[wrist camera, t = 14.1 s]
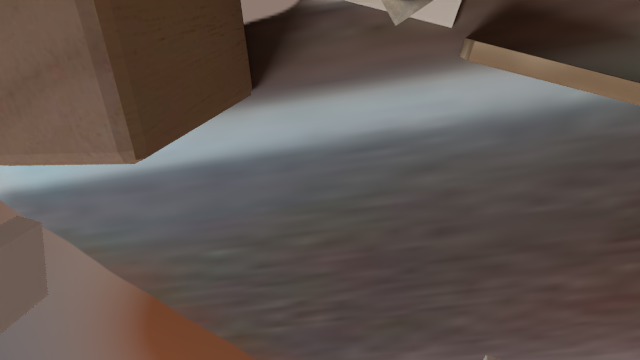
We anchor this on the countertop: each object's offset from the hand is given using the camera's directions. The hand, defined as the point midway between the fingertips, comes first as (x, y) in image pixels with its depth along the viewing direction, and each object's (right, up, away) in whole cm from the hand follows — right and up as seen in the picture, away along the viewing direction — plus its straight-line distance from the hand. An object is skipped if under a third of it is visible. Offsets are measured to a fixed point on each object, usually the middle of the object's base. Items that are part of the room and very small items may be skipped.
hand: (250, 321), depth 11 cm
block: (-10, +17, +26) cm, 33 cm away
